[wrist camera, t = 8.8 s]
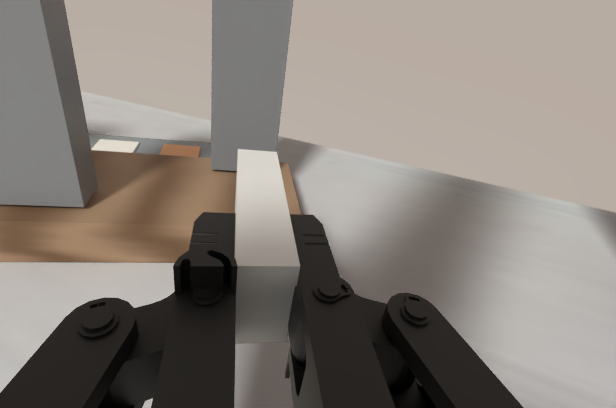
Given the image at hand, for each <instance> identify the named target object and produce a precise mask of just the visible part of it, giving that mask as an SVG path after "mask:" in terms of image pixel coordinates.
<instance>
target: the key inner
mask: <svg viewBox="0 0 616 408" xmlns="http://www.w3.org/2000/svg"><path fill="white" fill-rule="evenodd" d="M292 7H293V0H212V115H211V116H212V118H211V169H212V170H229V171H237V156H238V149H245V150H258V151H271V152H276V151H277V142H278V133H279V124H280V115H281V106H282V96H283V88H284V79H285V70H286V61H287V52H288V42H289V33H290V25H291V16H292Z"/></svg>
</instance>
